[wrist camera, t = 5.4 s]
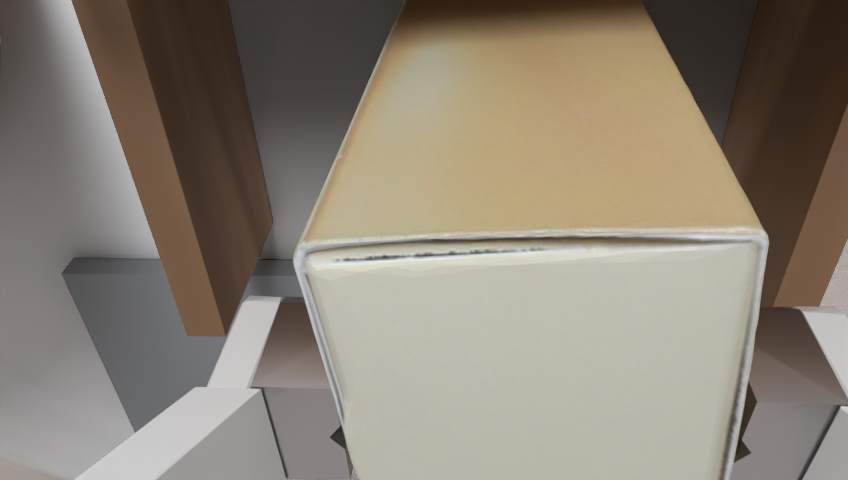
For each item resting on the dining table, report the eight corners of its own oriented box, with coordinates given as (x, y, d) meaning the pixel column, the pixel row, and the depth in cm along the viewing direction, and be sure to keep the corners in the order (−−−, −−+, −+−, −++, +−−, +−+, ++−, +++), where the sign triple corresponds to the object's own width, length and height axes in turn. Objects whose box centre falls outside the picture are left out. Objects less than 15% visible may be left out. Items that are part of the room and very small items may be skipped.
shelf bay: (868, -227, 13) (1232, -195, 7) (736, 223, 20) (860, 453, 14) (139, -198, 14) (-127, -145, 8) (241, 222, 21) (140, 434, 15)
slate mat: (342, 260, 22) (338, 276, 21) (366, 435, 27) (363, 452, 26) (73, 258, 22) (61, 273, 22) (149, 430, 28) (141, 446, 27)
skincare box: (602, 159, 19) (708, 618, 9) (447, 169, 19) (391, 606, 10) (608, -92, 15) (803, 234, 5) (416, -69, 16) (273, 259, 6)
